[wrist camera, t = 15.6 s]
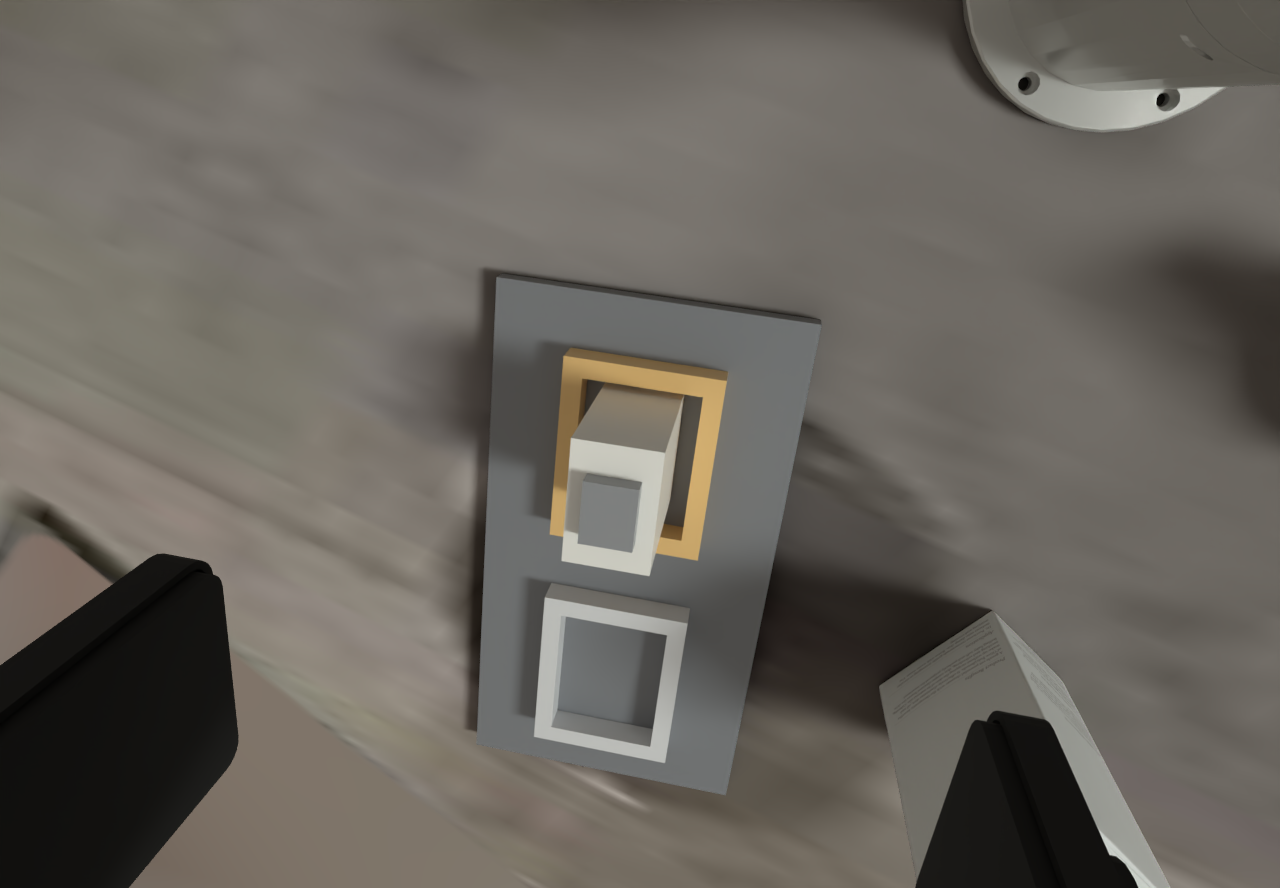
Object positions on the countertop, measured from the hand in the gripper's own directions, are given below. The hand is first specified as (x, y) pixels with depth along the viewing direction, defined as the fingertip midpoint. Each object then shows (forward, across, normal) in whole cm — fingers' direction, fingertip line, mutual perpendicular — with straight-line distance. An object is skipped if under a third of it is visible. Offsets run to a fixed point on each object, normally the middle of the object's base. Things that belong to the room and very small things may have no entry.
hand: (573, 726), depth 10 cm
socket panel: (+32, +3, +17) cm, 37 cm away
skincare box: (+32, -17, +21) cm, 42 cm away
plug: (+31, +3, +9) cm, 33 cm away
